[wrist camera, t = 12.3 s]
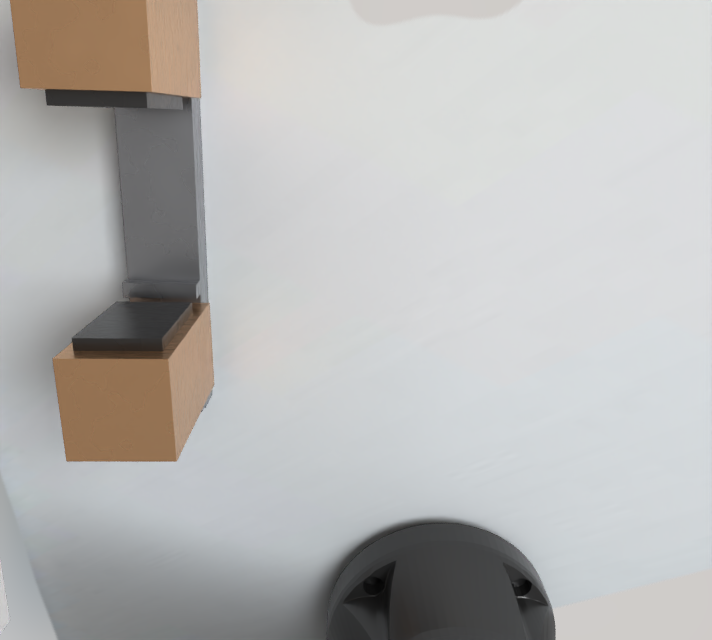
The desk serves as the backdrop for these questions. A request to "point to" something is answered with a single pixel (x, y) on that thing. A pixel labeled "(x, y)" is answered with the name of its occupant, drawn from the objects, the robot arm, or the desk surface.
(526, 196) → the desk surface
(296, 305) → the desk surface
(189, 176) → the rail
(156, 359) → the tan wooden block
